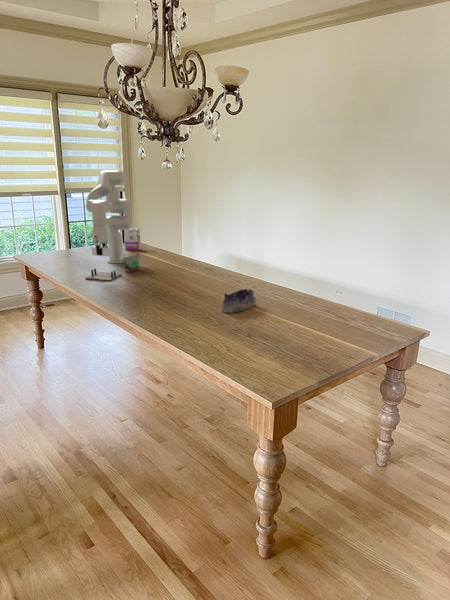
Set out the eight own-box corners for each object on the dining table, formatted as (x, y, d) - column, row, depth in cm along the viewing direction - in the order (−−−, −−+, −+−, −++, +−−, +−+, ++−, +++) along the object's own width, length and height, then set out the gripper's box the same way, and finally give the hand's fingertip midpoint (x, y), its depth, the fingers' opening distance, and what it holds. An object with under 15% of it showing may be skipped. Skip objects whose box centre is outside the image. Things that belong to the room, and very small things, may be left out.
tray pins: (95, 273, 266) (94, 268, 264) (116, 275, 262) (115, 270, 261) (91, 275, 261) (90, 270, 260) (112, 277, 258) (112, 272, 257)
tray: (98, 273, 270) (98, 271, 270) (121, 275, 266) (121, 274, 266) (85, 279, 258) (85, 277, 257) (109, 281, 254) (109, 279, 253)
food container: (130, 273, 271) (129, 258, 268) (123, 272, 275) (122, 256, 272) (144, 270, 281) (144, 254, 277) (138, 268, 284) (137, 253, 281)
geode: (237, 317, 202) (234, 296, 199) (217, 314, 209) (214, 294, 206) (260, 304, 217) (258, 285, 214) (241, 302, 224) (239, 284, 221)
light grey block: (97, 253, 261) (96, 245, 260) (111, 254, 259) (111, 246, 257) (92, 255, 257) (91, 246, 255) (107, 256, 254) (106, 248, 252)
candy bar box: (140, 249, 342) (139, 228, 337) (138, 250, 338) (137, 229, 332) (127, 248, 344) (126, 227, 339) (125, 249, 339) (123, 228, 334)
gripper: (101, 221, 260) (104, 250, 266) (85, 224, 245) (88, 256, 251) (113, 221, 259) (115, 251, 264) (97, 225, 243) (99, 257, 249)
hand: (102, 253), depth 257 cm, fingers closed on light grey block, 5 cm apart
